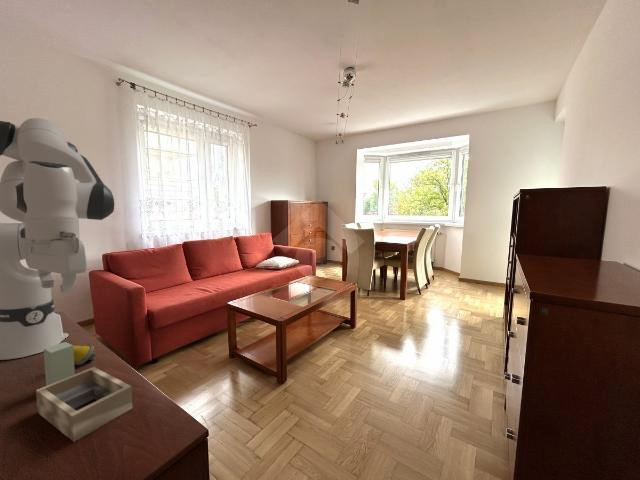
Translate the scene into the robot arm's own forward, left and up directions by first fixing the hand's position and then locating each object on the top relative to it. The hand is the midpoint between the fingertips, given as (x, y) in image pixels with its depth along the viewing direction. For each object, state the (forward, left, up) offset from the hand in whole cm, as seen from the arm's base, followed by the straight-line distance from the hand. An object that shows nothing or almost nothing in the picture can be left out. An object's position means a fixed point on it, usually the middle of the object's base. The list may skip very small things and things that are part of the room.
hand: (57, 289), depth 63 cm
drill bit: (-8, +7, -24) cm, 26 cm away
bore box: (+15, -2, -24) cm, 28 cm away
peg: (0, 0, -24) cm, 24 cm away
